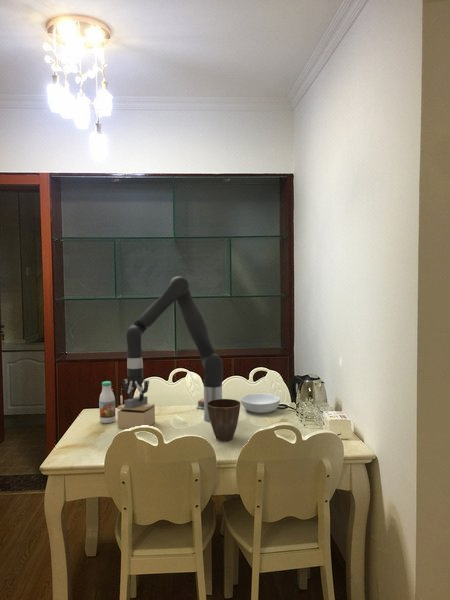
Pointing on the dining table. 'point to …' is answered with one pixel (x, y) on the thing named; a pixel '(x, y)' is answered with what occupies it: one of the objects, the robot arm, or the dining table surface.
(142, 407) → the lid
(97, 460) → the dining table surface
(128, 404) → the grey rectangular bar
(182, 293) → the robot arm
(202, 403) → the packaged product
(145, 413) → the box
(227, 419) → the plant pot
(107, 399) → the milk bottle
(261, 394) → the serving bowl
